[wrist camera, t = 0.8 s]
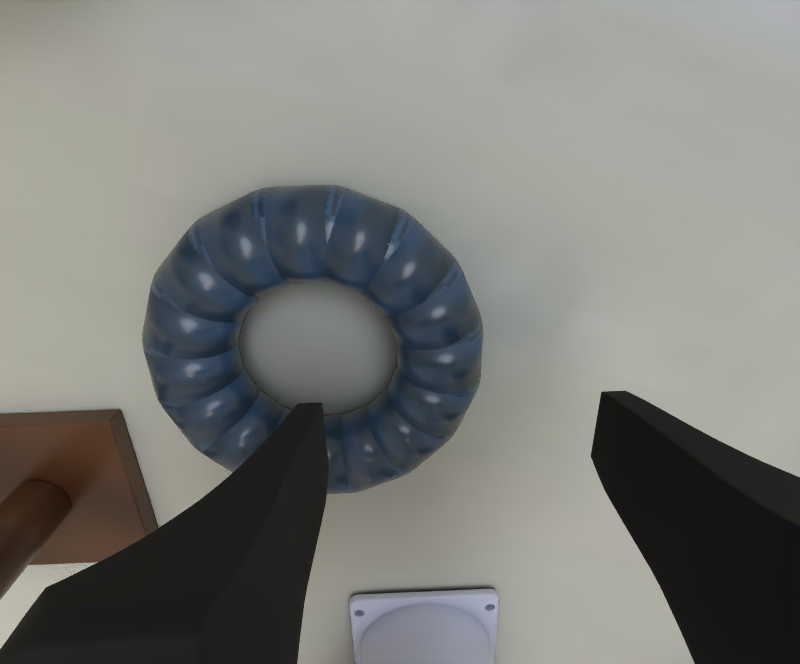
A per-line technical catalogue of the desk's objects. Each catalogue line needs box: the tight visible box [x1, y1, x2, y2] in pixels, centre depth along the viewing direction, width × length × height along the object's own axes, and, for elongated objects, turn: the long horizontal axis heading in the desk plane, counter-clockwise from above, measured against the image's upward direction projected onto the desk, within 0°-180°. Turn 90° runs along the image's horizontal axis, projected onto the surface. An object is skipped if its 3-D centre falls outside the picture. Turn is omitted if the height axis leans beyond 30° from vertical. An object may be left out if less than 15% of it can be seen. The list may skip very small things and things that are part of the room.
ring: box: [142, 185, 483, 494], centre depth 18 cm, size 12×12×3 cm
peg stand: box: [0, 410, 158, 600], centre depth 20 cm, size 8×8×6 cm
